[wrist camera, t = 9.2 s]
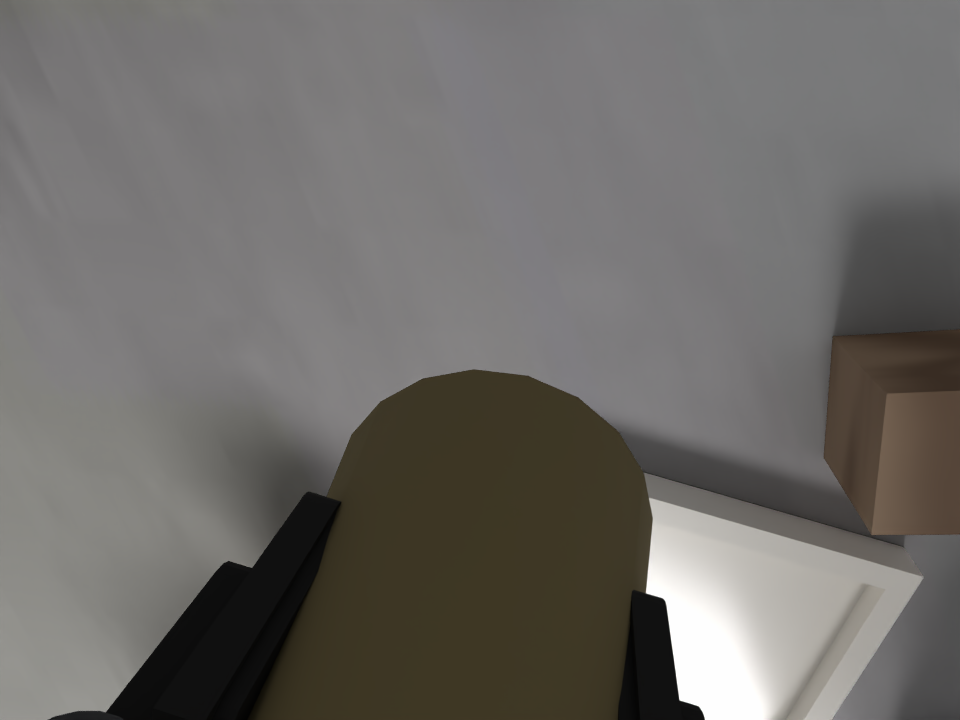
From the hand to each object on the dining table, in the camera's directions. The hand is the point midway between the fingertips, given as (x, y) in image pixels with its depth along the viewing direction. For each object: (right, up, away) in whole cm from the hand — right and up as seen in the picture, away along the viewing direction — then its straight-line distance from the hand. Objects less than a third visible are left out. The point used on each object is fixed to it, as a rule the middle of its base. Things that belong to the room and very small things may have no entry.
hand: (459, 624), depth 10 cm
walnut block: (+16, +3, +15) cm, 22 cm away
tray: (+8, -8, +21) cm, 23 cm away
